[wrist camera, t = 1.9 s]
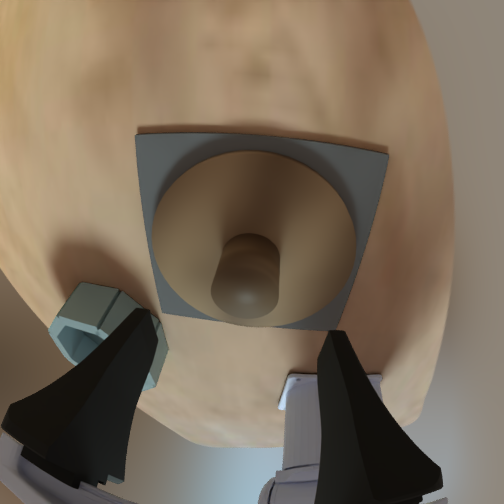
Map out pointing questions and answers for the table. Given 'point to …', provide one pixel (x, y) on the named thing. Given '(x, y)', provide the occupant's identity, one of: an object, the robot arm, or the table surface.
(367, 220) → the mat
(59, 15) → the table surface
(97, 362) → the robot arm
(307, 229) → the lid
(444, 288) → the table surface
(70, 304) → the bowl
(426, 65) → the table surface
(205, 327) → the table surface
